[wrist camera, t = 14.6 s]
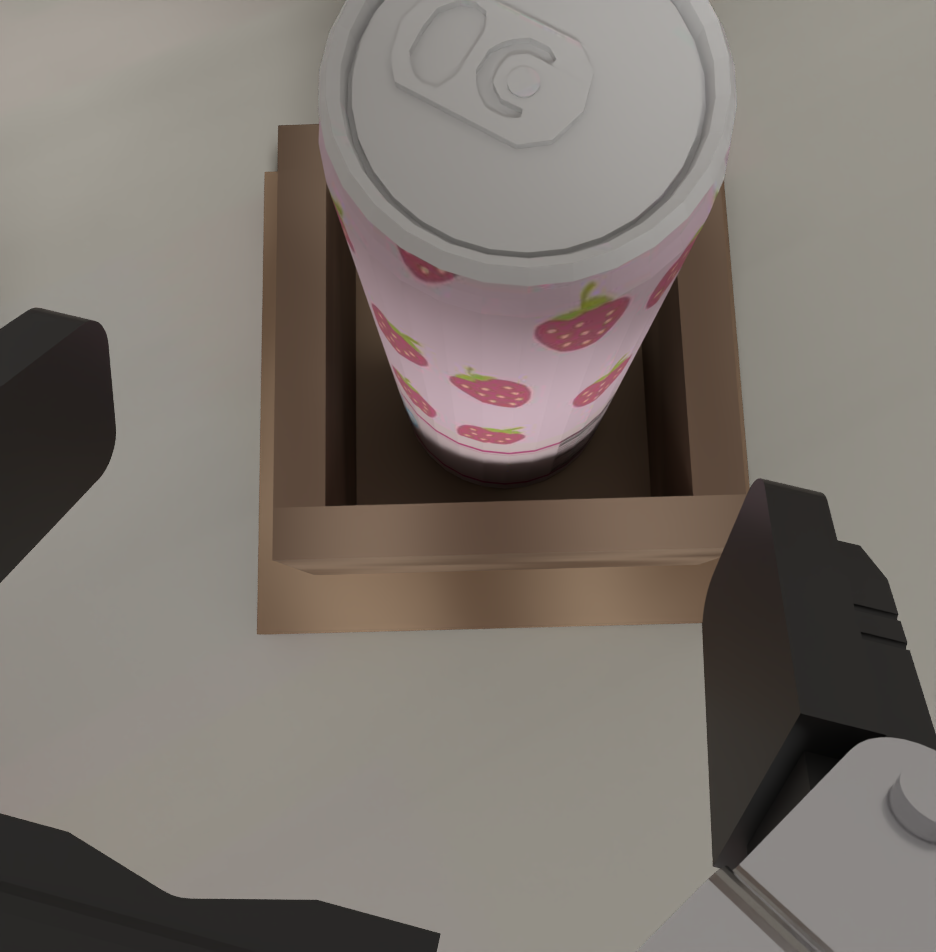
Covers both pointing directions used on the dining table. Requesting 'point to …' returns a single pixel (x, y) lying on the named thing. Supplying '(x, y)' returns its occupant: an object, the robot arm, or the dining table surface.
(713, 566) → the can socket
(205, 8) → the dining table surface
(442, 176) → the beverage can
